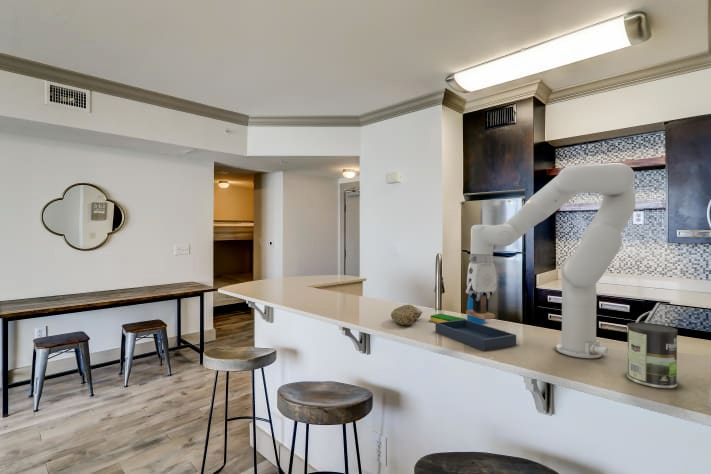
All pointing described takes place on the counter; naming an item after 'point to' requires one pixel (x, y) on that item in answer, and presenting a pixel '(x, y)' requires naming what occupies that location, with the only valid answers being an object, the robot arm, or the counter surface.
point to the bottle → (470, 307)
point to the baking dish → (476, 334)
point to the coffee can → (652, 354)
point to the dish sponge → (443, 318)
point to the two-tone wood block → (482, 313)
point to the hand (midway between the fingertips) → (480, 310)
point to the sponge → (406, 314)
